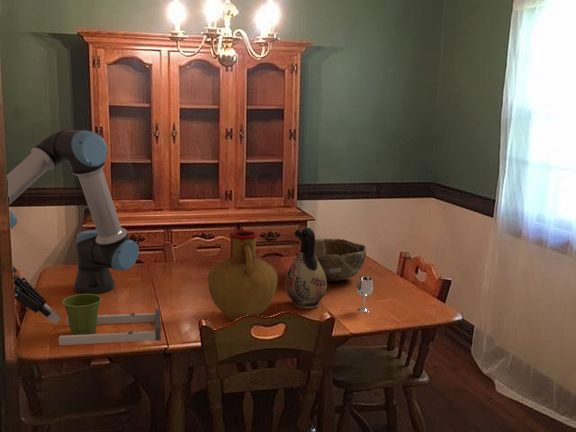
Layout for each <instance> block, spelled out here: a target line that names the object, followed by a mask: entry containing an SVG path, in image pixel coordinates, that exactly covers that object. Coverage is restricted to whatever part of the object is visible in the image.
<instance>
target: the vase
mask: <svg viewBox="0 0 576 432" xmlns="http://www.w3.org/2000/svg"><path fill="white" fill-rule="evenodd" d="M257 236H258V233H257V232H255V231H250V230H235V231H232V232H230V233H229V237H230V257H228V258H226V259H223V260H222V261H219V262H217V263H216V264H214V265H213V266H212V268H211V269H210V270H209V272H208V273H207V282H208V283H207V284H208V292H209V295H210V297H211V299H212V301H213V303H214V305H215V306H216V308H217V309H218V310H219V311H220V312H222V313H223V314H224V315H225V316H227V317H228V318H229V319H230V320H231V319H232V320H231V321H233V320H236V319H238V318H240V317H243V316H246V315H258V316H259V315H261V314H262V313H263V312H264V311H266V310H267V309H268V307H269V306H270V305H271V303H272V301H273V298H274V296H275V294H276V291H277V287H278V274H277V271H276V270H275V268H274V267H273V266H272V265H271V264H269V263H267V262H266V261H265V260H262V259H260V258H257V252H256V251H257Z"/></svg>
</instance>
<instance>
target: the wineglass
mask: <svg viewBox="0 0 576 432" xmlns="http://www.w3.org/2000/svg"><path fill="white" fill-rule="evenodd" d="M356 290H357V293H358V295H361V296H363V297H362V300H363V301H362V302H363V306H362V307H361V308H359V307H358V308H357V311H358V312H360V313H364V312H366V313H369V312H370V311H371V310H370V309H369V308H367V307H366V299H367V298H366V297H367V296H370V295H372V293H373V292H374V291H373V290H374V283H373V279H372V278H371V277H369V276H360V277H358V280H357V285H356Z"/></svg>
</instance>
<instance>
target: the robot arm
mask: <svg viewBox="0 0 576 432" xmlns="http://www.w3.org/2000/svg"><path fill="white" fill-rule="evenodd" d="M107 155H108V145H107V143H106V141H105V139H104V138H103V136H101V135H100V134H99V133H96V132H94V131H90V130H85V129H84V130H83V129H82V130H80V129H79V130H78V129H69V128H64V129H59V130H56V131H54V132H52V133H50V134H49V135H47V136H46V137H45V138H43V139H42V140H41V141H39V142H38V143H37V144H36V145H35V146H34V147H32V148H31V150H30V154H29V155H28V156H27V157H25V159H24V160H22V161H21V162H20V163H19V164H18V165H17V166H16V167H15V168H13V169H12V170H11V171H10V172H9V173H7V175H6V176H7V180H8V197H9V206H10V205H11V204H12V203H13V202H14V201H15V200H16V199H17V198H18V197H20V196H21V195H22V194H23V193H24V192H25V191H26V190H27V189H28V188H29V187H30V186H31V185H33V183H35V182H36V181H38V179H39V178H40V177H41V176H43V175H44V174H45V173H46V172H47V171H48V170H54V169H55V168H56V167H57V166H58V165H61V164H63V163H67V164H68V166H69V168H70V170H71V173H72V175H74V176H76V177H78V181H79V183H80V186H81V188H82V193H83V195H84V198H85V201H86V204H87V207H88V210H89V212H90V216H91V218H92V221H93V224H94V227H95V229H88V230H83V231H80V232H78V233H77V235H76V242H75V243H76V253H77V254H76V255H77V258H76V259H77V272H76V276H75V281H74V283H73V291H74V292H76V293H78V294H95V295H98V294H104V293H108V292H110V291H112V290H114V289H115V280H114V278H113V275H112V272H111V269H112V270H115V271H123V272H125V271H128V270H130V269H131V268H132V267H133V266H134V265H135V264H136V262H137V259H138V257H139V254H140V251H139V246H138V244H137V242H135V241H134V240H131V239H130V237H129V234H128V231H127V229H126V228H124V227H122V225H121V222H120V220H119V217H118V214H117V210H116V208H115V203H114V201H113V198H112V195H111V191H110V189H109V186H108V182H107V179H106V176H105V173H104V170H103V169H104V167H105V166H106V160H107ZM17 224H18V217H17V216H16V215H15V214H14V213H13V212H12V210H10V227H11V230H13V229H14V227H15V226H16V225H17ZM17 271H18V270H17V268H15V266H13V272H14V284H15V300H16V301H18V302H19V303H21V304H22V305H24V306H25V307H26V308H28V309H30V310H31V311H33V312H34V313H35V314H37V313H38V312H39V313H40V314H41V315H43V316H44V317H45V318H46V319H47V320H49V321H50V322H51V324H54V325H55V324H57V323H58V322H59V321H60V320H61V319H62V316H61V315H60V314H59V313H57V312H56V311H55V310H54V309H53V308H51V307H50V306H49V305H48V304H47V302H48V300H47V299H45V297H43V296H42V295H41V294H40V293H39V292H38V290H36V289H35V287H33V286H32V285H31V284H30V283H29V281H27V279H26V278H25V277H22V278H21V277H19V276H17V275H15V274H16V272H17Z"/></svg>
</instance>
